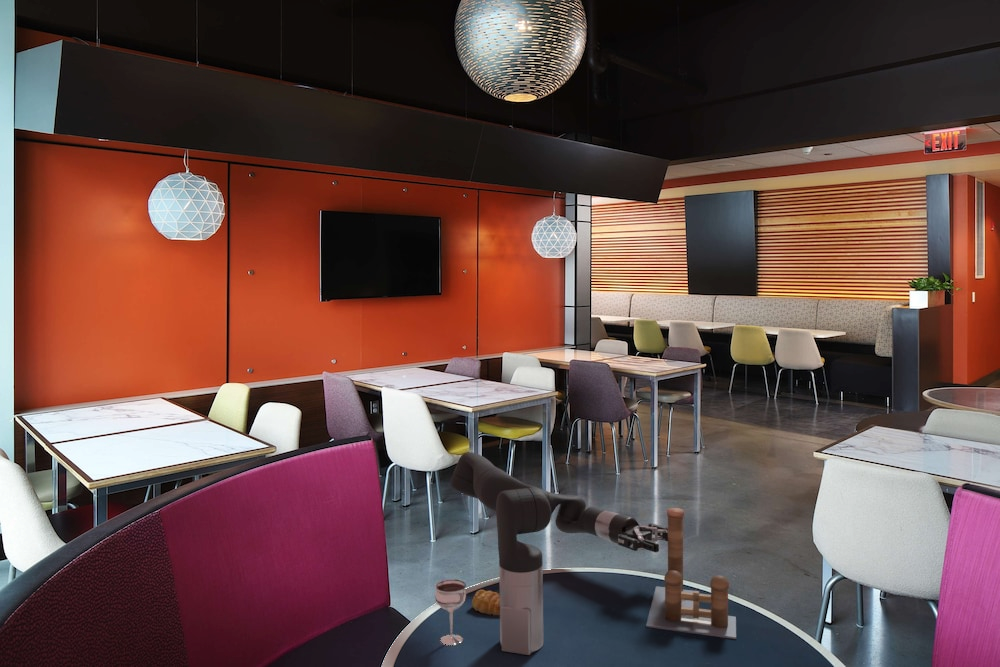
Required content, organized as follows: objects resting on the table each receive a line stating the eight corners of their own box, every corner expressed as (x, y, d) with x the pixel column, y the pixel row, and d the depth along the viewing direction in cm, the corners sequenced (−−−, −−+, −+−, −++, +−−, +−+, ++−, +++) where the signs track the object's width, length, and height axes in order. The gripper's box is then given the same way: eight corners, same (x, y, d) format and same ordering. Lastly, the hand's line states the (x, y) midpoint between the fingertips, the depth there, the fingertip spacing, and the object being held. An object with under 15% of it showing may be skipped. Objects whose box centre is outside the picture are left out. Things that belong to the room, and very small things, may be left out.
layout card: (736, 639, 148) (736, 636, 148) (646, 626, 154) (646, 624, 154) (735, 597, 169) (735, 595, 169) (656, 587, 175) (656, 585, 175)
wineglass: (447, 651, 145) (446, 595, 144) (429, 639, 150) (428, 585, 150) (473, 640, 149) (472, 586, 149) (455, 629, 155) (454, 576, 154)
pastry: (516, 608, 165) (516, 593, 164) (501, 620, 159) (501, 604, 159) (484, 599, 170) (483, 584, 170) (468, 611, 164) (468, 595, 164)
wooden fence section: (682, 612, 159) (682, 523, 158) (664, 610, 160) (664, 522, 159) (684, 591, 170) (684, 508, 169) (667, 589, 171) (667, 507, 170)
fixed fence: (728, 631, 152) (729, 580, 151) (663, 622, 156) (663, 573, 156) (728, 623, 156) (729, 573, 155) (665, 615, 160) (665, 566, 159)
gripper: (633, 535, 187) (684, 551, 175) (598, 548, 178) (650, 566, 166) (633, 508, 187) (685, 522, 175) (598, 519, 178) (650, 535, 165)
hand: (668, 543), depth 170 cm, fingers open, 8 cm apart
